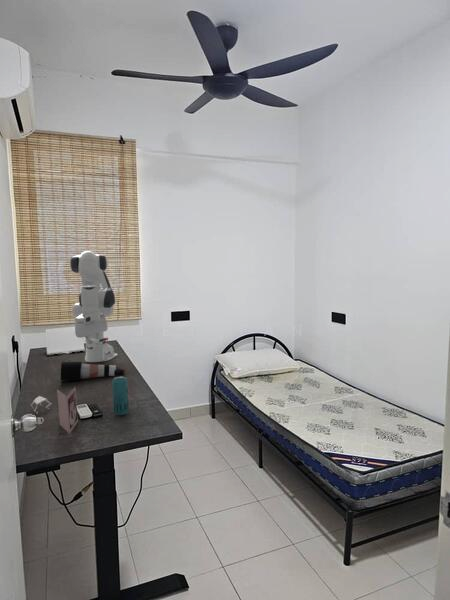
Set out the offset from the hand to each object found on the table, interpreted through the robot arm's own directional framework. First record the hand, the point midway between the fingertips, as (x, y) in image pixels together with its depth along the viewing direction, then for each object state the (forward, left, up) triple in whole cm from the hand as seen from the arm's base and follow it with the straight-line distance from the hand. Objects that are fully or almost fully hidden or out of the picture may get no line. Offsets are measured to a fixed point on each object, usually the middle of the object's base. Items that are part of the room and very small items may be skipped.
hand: (93, 342), depth 210 cm
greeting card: (+46, +26, -23) cm, 58 cm away
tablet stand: (-53, -75, -24) cm, 95 cm away
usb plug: (0, 0, -2) cm, 2 cm away
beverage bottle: (+28, +39, -23) cm, 53 cm away
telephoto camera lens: (-10, -10, -23) cm, 27 cm away
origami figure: (+35, -1, -23) cm, 42 cm away
